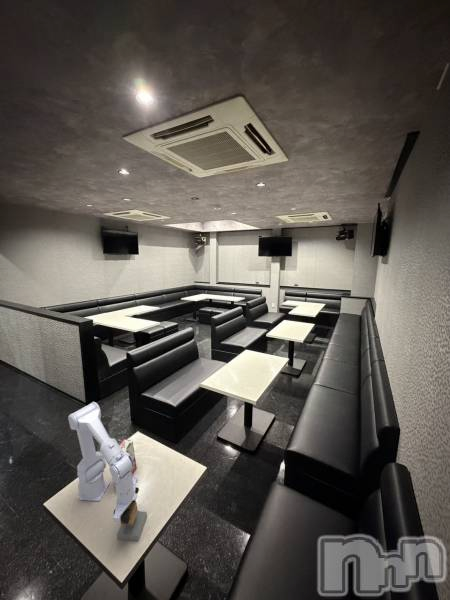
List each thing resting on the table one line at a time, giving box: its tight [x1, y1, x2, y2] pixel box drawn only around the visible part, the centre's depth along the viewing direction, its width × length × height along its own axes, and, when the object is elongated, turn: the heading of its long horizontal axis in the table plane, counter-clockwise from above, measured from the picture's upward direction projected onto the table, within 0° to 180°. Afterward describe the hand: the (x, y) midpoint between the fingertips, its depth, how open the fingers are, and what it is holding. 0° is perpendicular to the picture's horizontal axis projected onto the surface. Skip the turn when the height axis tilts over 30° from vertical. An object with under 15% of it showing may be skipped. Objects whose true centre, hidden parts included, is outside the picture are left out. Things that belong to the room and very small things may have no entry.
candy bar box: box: [112, 439, 138, 489], centre depth 109 cm, size 11×5×16 cm, turn 168°
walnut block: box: [119, 502, 139, 526], centre depth 89 cm, size 4×4×5 cm
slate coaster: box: [116, 510, 148, 542], centre depth 91 cm, size 8×8×3 cm
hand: (128, 514), depth 89 cm, fingers closed on walnut block, 4 cm apart
